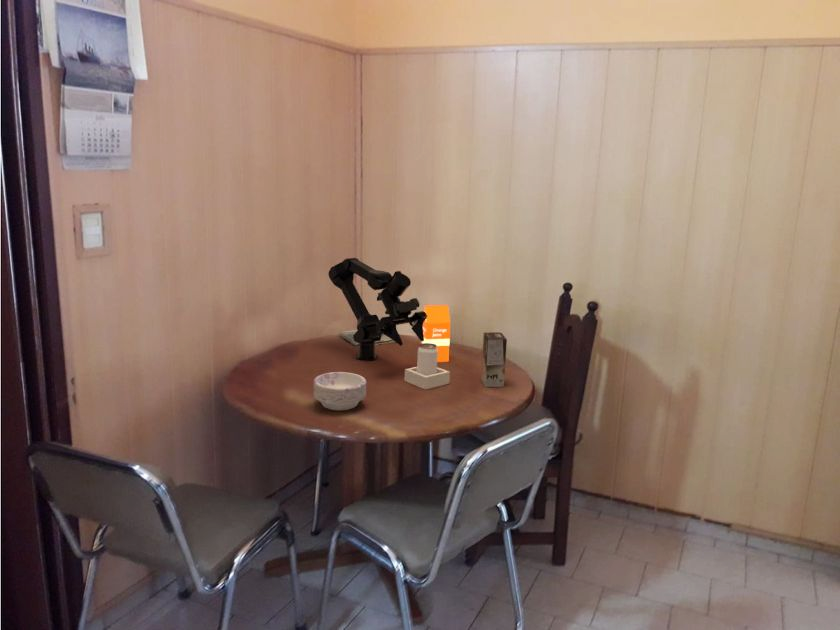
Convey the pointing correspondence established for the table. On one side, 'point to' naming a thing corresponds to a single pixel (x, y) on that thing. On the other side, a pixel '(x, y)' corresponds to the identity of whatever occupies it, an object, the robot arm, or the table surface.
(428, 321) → the orange juice
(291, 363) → the table surface
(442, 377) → the collar
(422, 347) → the can
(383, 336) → the dish towel
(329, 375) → the paper bowls
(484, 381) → the coffee box
